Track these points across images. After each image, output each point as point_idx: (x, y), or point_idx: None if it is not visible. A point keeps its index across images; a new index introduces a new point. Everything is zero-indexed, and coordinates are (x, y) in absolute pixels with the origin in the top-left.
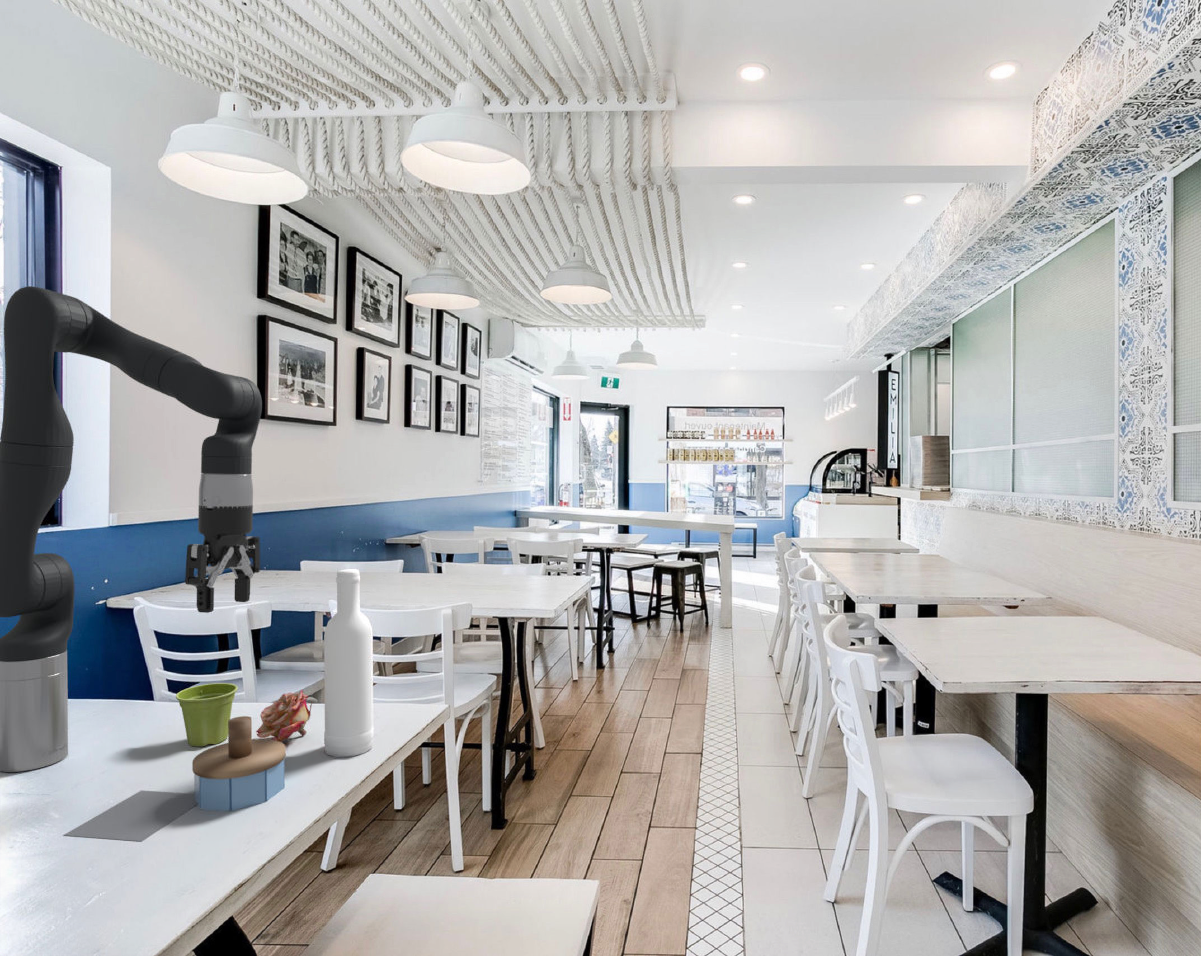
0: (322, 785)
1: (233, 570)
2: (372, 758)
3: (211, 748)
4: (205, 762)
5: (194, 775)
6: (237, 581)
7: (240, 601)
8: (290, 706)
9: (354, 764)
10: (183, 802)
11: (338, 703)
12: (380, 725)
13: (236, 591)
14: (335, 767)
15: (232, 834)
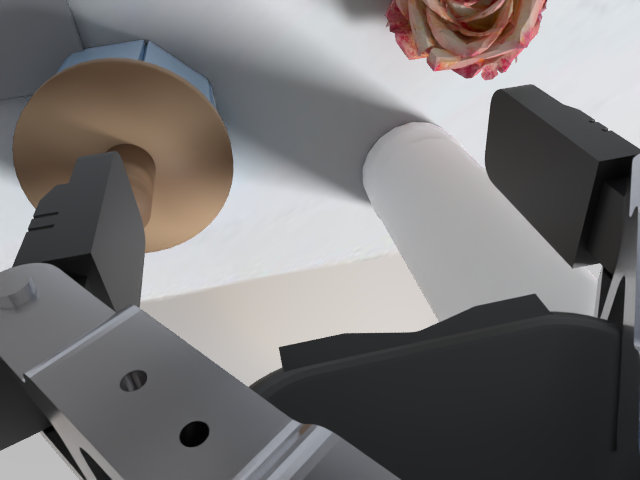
0: (238, 234)
1: (623, 223)
2: (371, 237)
3: (125, 66)
4: (48, 130)
5: (58, 70)
6: (577, 176)
7: (490, 130)
8: (450, 49)
9: (338, 225)
10: (34, 55)
11: (398, 241)
12: None
13: (531, 127)
14: (316, 204)
15: (15, 231)
